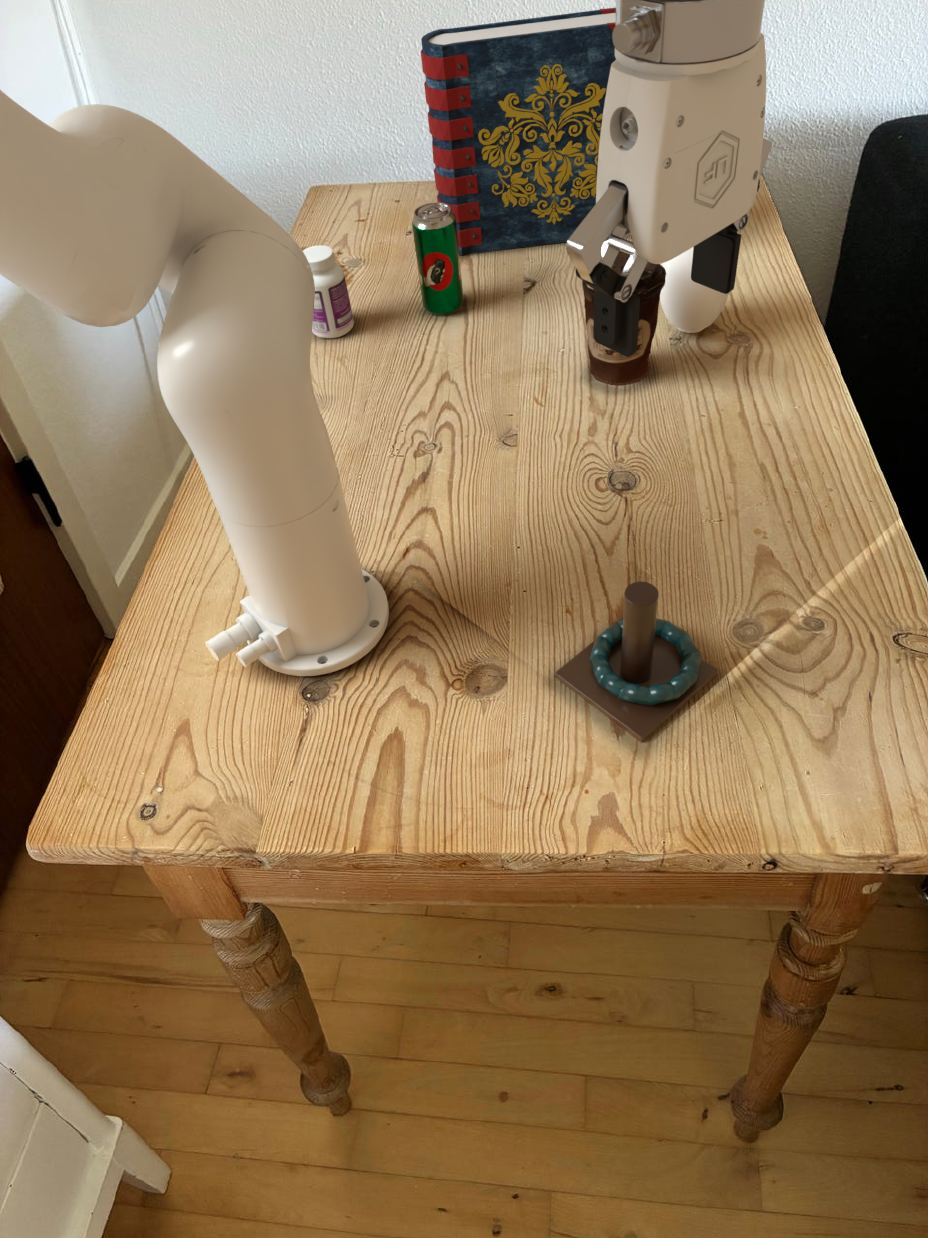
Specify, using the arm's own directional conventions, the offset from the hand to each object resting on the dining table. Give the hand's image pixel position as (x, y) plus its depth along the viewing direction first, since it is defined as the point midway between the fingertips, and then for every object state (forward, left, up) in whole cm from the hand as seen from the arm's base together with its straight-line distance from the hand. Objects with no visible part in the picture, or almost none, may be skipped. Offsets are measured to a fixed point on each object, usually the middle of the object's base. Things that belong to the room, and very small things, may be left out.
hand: (664, 315), depth 62 cm
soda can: (+20, +49, -26) cm, 59 cm away
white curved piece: (+35, +23, -26) cm, 50 cm away
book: (+40, +53, -26) cm, 72 cm away
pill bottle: (+8, +56, -26) cm, 62 cm away
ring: (-7, -6, -24) cm, 26 cm away
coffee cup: (+23, +23, -26) cm, 42 cm away
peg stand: (-8, -6, -26) cm, 28 cm away
